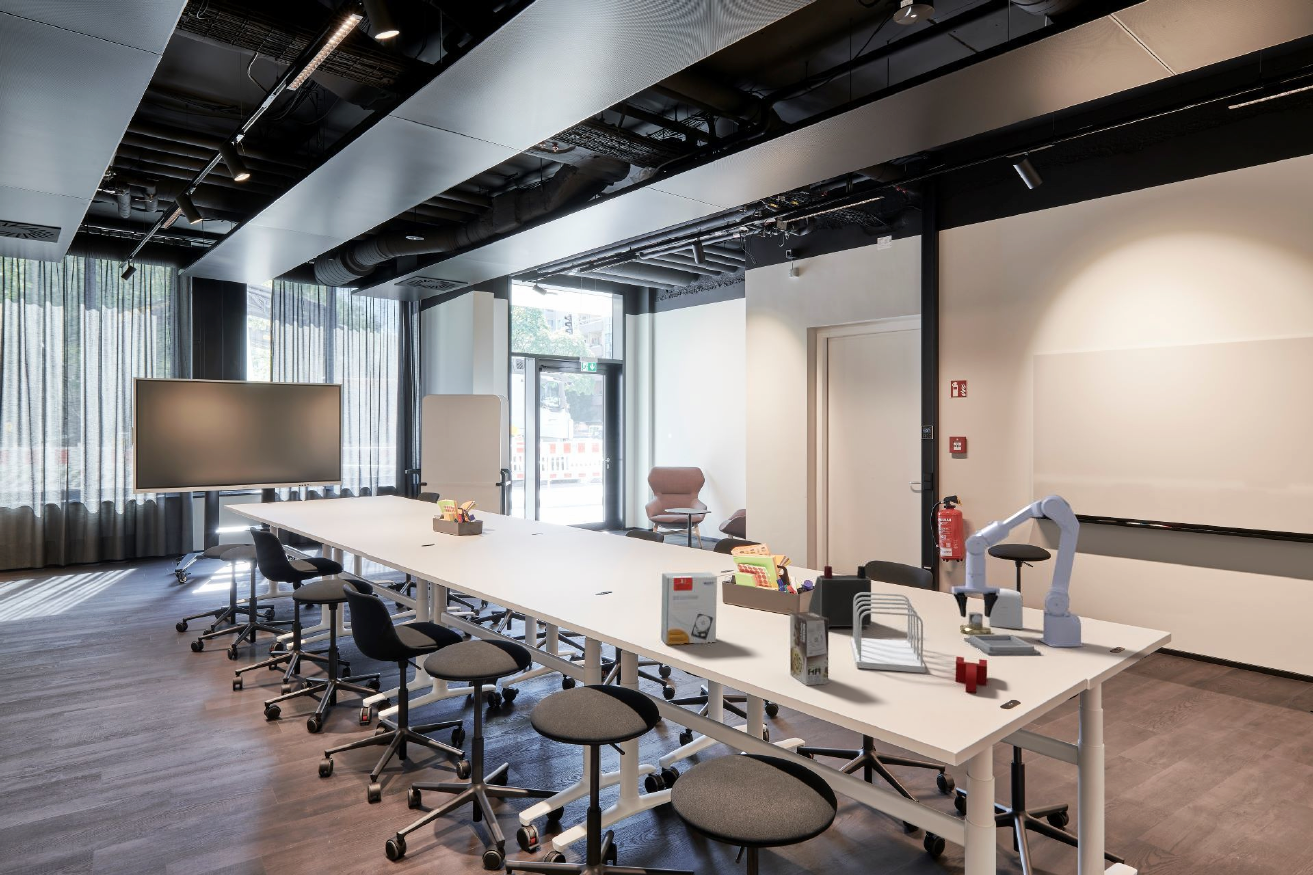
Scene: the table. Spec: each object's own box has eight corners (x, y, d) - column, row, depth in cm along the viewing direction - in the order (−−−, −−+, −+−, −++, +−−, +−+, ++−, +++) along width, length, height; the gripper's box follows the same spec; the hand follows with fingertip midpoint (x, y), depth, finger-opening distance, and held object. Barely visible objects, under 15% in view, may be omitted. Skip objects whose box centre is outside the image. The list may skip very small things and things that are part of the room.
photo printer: (987, 626, 236) (987, 588, 236) (987, 623, 240) (987, 586, 240) (1022, 630, 231) (1022, 591, 231) (1022, 627, 235) (1022, 589, 235)
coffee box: (829, 683, 180) (829, 618, 180) (806, 686, 178) (806, 620, 178) (811, 672, 189) (811, 610, 189) (789, 674, 187) (789, 611, 187)
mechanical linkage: (956, 673, 189) (956, 654, 189) (986, 677, 186) (986, 657, 186) (954, 692, 175) (954, 672, 175) (987, 697, 172) (987, 676, 172)
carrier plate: (1013, 640, 220) (1013, 633, 220) (1040, 655, 205) (1040, 647, 205) (964, 640, 219) (964, 633, 219) (988, 655, 204) (988, 648, 204)
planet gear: (982, 628, 233) (982, 610, 233) (996, 636, 224) (996, 617, 224) (955, 629, 232) (955, 610, 232) (967, 636, 223) (967, 617, 223)
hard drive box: (666, 645, 212) (666, 577, 212) (660, 638, 220) (660, 572, 220) (717, 643, 215) (717, 575, 215) (709, 636, 223) (710, 571, 223)
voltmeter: (855, 617, 247) (855, 558, 247) (871, 630, 231) (871, 567, 231) (808, 617, 247) (808, 558, 247) (820, 630, 230) (821, 567, 231)
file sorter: (925, 674, 188) (926, 614, 188) (856, 669, 192) (856, 610, 192) (911, 647, 213) (911, 593, 213) (850, 643, 216) (850, 591, 216)
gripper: (992, 571, 232) (991, 613, 232) (947, 570, 232) (947, 613, 232) (1003, 575, 225) (1002, 618, 225) (957, 575, 225) (956, 618, 225)
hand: (975, 616), depth 228 cm, fingers open, 7 cm apart
